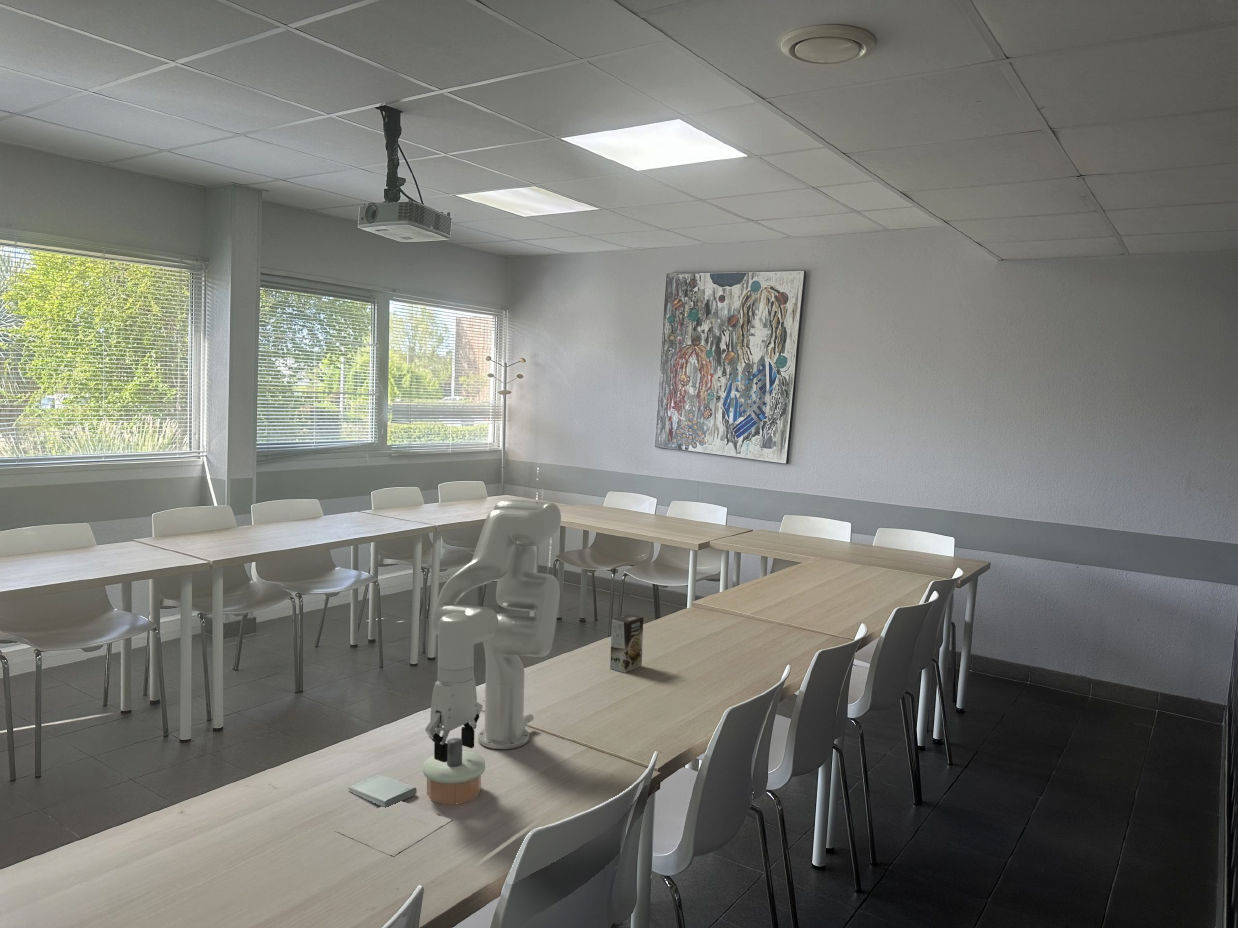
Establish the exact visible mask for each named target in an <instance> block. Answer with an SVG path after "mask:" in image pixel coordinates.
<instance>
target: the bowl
mask: <svg viewBox="0 0 1238 928" xmlns="http://www.w3.org/2000/svg"><path fill="white" fill-rule="evenodd" d="M481 790H482V774H481V775H480V776H479V777H477V778H475V779H473V780H470V781H466V782H461V783H440V782H435V781H432V780H430V779H428V778H427V777H426V795H427V797H428V796H429V797H428V799H429V800H430V799H431V800H430V801H432V800H434V801H433V802H435V801H437V802H440V803H447V804H446V805H457V804H456V803H460V804H462V803H461V802H464V803H468V802H467V801H469V802H470V800H471V801H472V800H474V799H476V798H477V797H478V796H479V794H480V792H481ZM475 797H476V798H475ZM473 798H474V799H473ZM465 801H466V802H465ZM437 802H436V803H437ZM440 803H439V804H440Z"/></svg>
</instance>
